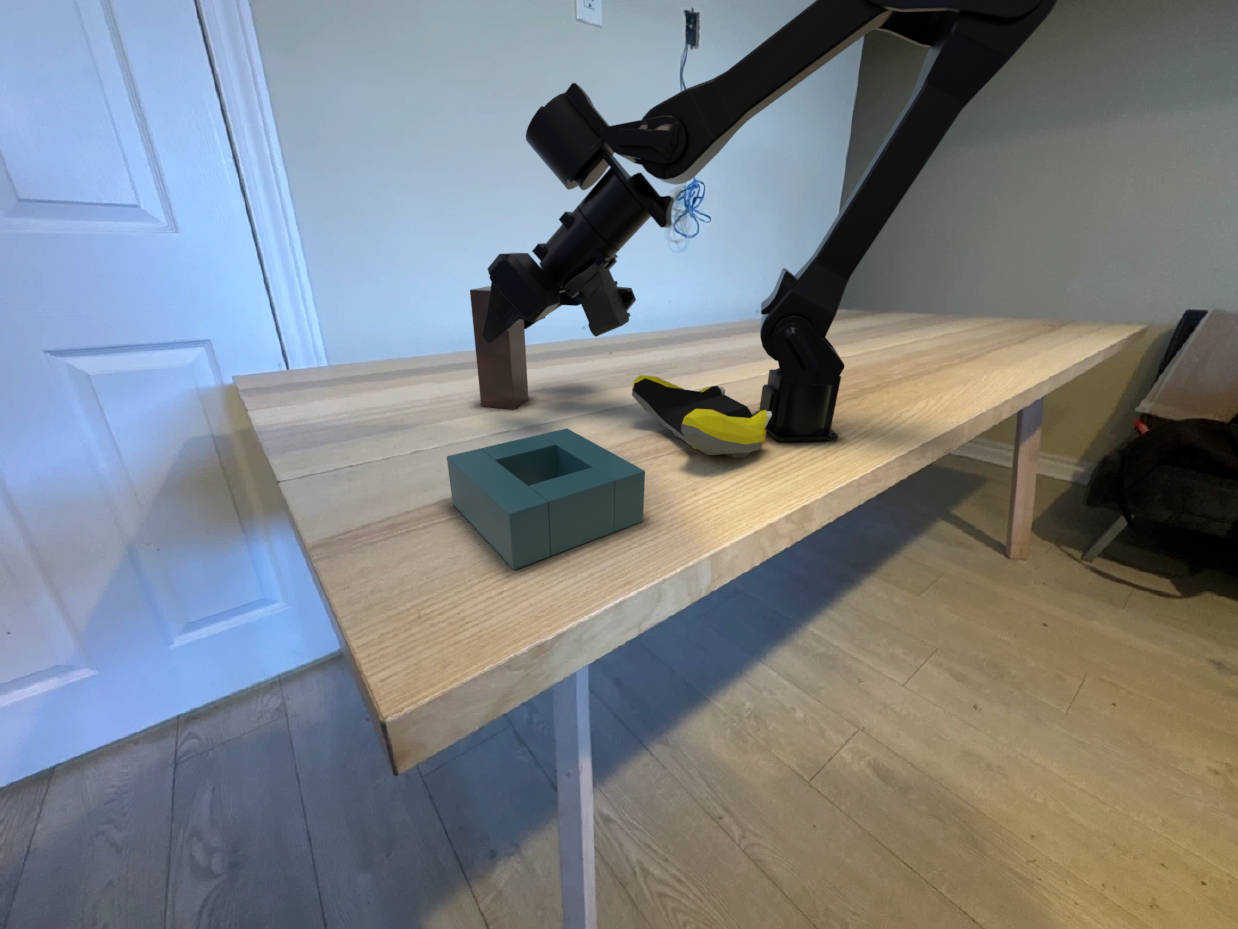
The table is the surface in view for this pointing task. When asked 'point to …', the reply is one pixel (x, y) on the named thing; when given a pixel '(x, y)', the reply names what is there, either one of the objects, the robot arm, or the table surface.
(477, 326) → the pad post
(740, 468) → the table surface
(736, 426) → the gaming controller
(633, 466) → the base pad
